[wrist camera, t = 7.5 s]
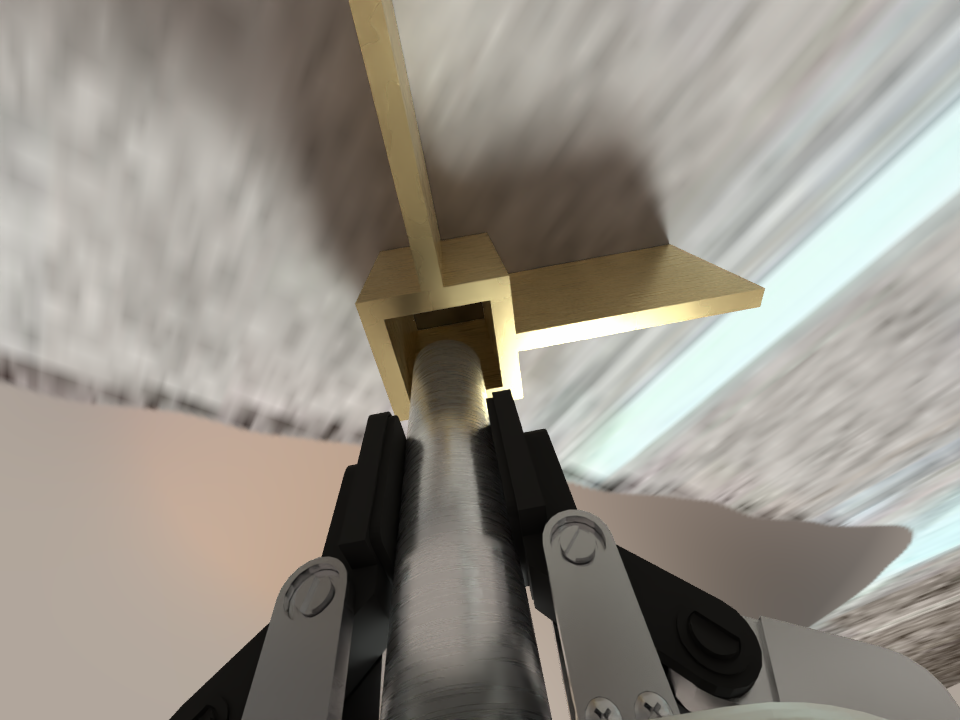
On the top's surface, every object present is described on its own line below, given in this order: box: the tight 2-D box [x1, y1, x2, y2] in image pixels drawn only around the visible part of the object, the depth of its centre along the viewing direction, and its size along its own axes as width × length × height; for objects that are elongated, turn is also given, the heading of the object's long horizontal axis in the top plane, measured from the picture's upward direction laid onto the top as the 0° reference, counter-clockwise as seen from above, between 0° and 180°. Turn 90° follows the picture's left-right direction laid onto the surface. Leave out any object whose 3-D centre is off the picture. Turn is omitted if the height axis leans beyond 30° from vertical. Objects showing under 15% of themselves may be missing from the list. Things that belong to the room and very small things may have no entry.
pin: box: [380, 340, 552, 720], centre depth 9 cm, size 3×3×13 cm
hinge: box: [349, 0, 765, 421], centre depth 15 cm, size 16×16×7 cm
